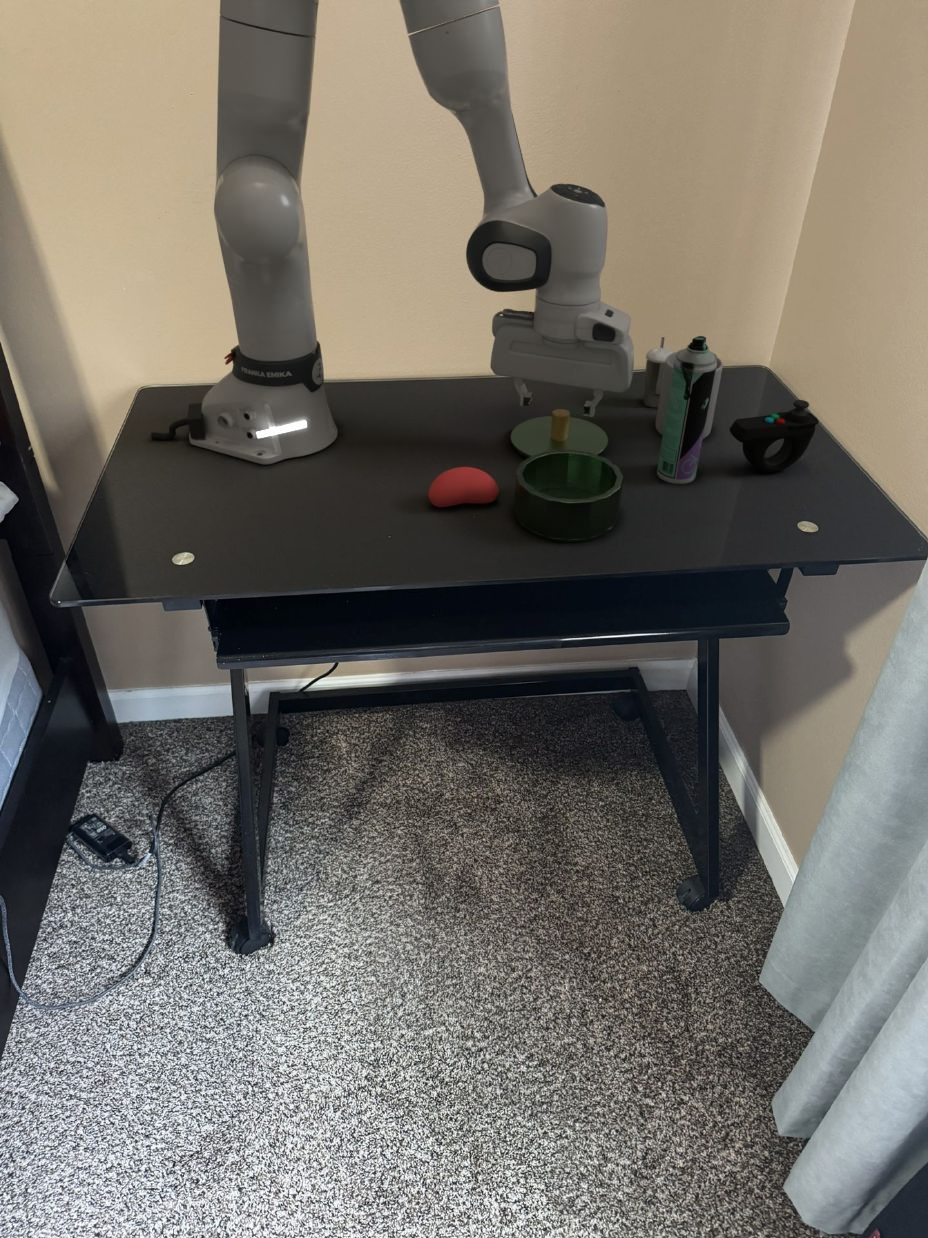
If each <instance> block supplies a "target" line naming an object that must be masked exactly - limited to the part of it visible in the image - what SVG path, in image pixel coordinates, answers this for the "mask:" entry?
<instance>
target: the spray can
mask: <svg viewBox="0 0 928 1238" xmlns="http://www.w3.org/2000/svg"><path fill="white" fill-rule="evenodd" d="M676 352H677V353H676V358H675V360H674V366H673V372H672V379H671V385H670V392H669V398H668V404H667V411H666V417H665V423H664V430H663V435H662V437H661V443H660V449H659V455H658V463H657V468H656V475H657V476H658V478H659V479H661V480H662V481H665V482H667V483H670V484H675V485H685V484H688V483H692V482H693V481H694V480H695V479H696V476H697V472H698V467H699V461H700V455H701V452H702V451H701V450H702V445H703V440H704V439H703V435H704V429H705V424H706V419H707V414H708V408H709V403H710V398H711V392H712V387H713V382H714V377H715V371H716V366H717V362H716V361H717V357H718V356H717V355H716V353H715V352H713V351H711V350H710V347H709V346H708V345H707V338H706V336H704V335H698V336H695V337H693V338H692V339H691V342H690V343H689V344H688V345H686V347H685V348H682V349H680V350H678V351H676Z"/></svg>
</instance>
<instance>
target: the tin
mask: <svg viewBox="0 0 928 1238" xmlns="http://www.w3.org/2000/svg"><path fill="white" fill-rule="evenodd" d="M623 483H624V476H623V474H622V472H621V470H620V467H618V466H617V465H616V464H615V463H613V461H611V460H609V459H608V458H607V457H604V456H601V455H600V456H598V455H595V454H592V453H590V452H583V451H576V450H553V451H547V452H543V453H539V454H536V455H532V456H531V457H529V458H526V459H524V460H523V461H521V462H520V463H519V466H518V468H517V470H516V472H515V487H514V491H515V492H514V515H515V518H516V521H517V523H518V524H519V525H520V527H522V528H523V529H524V530H525V531H527V532H529V533H530V534H532V535H533V536H535V537H539V538H541V539H544V540H547V541H553V542H557V543H584V542H589V541H593V540H597V539H600V538H602V537H603V536H606V535H607V534H609V533H610V532H611V531H612V530H613V529H614V528H615V527H616V524H617V522H618V517H619V514H620V506H621V498H622V492H623V491H622V490H623Z"/></svg>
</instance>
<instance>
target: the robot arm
mask: <svg viewBox="0 0 928 1238" xmlns="http://www.w3.org/2000/svg"><path fill="white" fill-rule="evenodd" d="M319 3H320V0H219V25H218V26H219V27H218V30H219V31H218V60H217V63H218V66H217V67H218V69H217V110H216V111H217V113H216V114H217V115H216V122H217V123H216V161H215V162H216V164H215V165H216V167H215V186H214V187H215V190H214V202H213V215H214V221H215V227H216V231H217V236H218V242H219V247H220V251H221V258H222V261H223V267H224V271H225V276H226V281H227V285H228V290H229V294H230V299H231V300H230V301H231V305H232V306H231V307H232V312H233V318H234V324H235V330H236V335H237V342H238V344H237V345H236V346H233V348H231V350H230V352H229V353H228V354H226V355H225V356H224V360H226V361H225V362H224V364H225V365H226V366H227V365H229V364H230V363H232V369H231V371H230V372H228V373H227V374H226V375H225V376H223V377H222V378H221V379H220V380H219V381H218V382H217V383H215V384H214V385H213V386H212V387H211V388H209V389H210V390H208V391H207V393H206V394H205V396H204V397H203V399H202V402H197V403H189V404H188V411H187V417H186V418H183V419H178V420H176V421H174V422H172V423H171V424H170V425H169V426H168V427H169V428H168V432H166V433H163V432H155V431H151V432H150V438H151V440H161V441H168V440H171V439H173V438H175V437H176V434H177V432H176V431H177V429H178V428H181V427H184V426H188V430H189V434H188V439H189V444H190V445H193V446H195V447H199V448H203V449H207V450H210V451H213V452H217V453H220V454H224V455H228V456H231V457H234V458H238V459H242V460H245V461H249V462H252V463H256V464H259V465H264V466H265V465H271V464H275V463H277V462H280V461H283V460H286V459H292V458H299V457H304V456H307V455H311V454H314V453H317V452H320V451H322V450H324V449H326V448H327V447H329V446H331V445H332V444H333V443H334V442H335V441H336V439H337V437H338V433H339V431H338V428H337V425H336V423H335V421H334V418H333V416H332V413H331V410H330V407H329V402H328V399H327V395H326V391H325V385H324V382H325V373H324V362H323V354H322V348H321V343H320V342H319V340H318V338H317V328H316V318H315V310H314V301H313V291H312V280H311V269H310V268H311V267H310V257H309V248H308V246H309V245H308V235H307V225H306V215H305V209H304V202H303V198H302V197H303V196H302V175H303V166H304V158H305V157H304V156H305V147H306V140H307V131H308V126H309V117H310V113H311V112H310V111H311V101H312V91H313V89H312V88H313V87H312V86H313V77H314V66H315V65H314V64H315V52H316V51H315V50H316V41H317V27H318V26H317V25H318V12H319ZM398 3H399V6H400V9H401V12H402V17H403V21H404V25H405V29H406V34H407V37H408V41H409V45H410V49H411V53H412V56H413V59H414V62H415V65H416V68H417V70H418V73H419V76H420V78H421V80H422V82H423V84H424V87H425V89H426V91H427V94H428V95H429V97H430V98H431V99H432V100H433V101H434V102H435V103H437V104H438V105H439V106H441V107H443V108H444V109H446V110H447V111H448V112H449V113H451V114H452V115H453V116H454V117H455V118H456V119H457V120H458V122H459V123H460V124H461V126H462V128H463V129H464V131H465V134H466V137H467V139H468V141H469V144H470V148H471V153H472V156H473V159H474V163H475V166H476V167H475V168H476V170H477V171H476V172H477V174H478V178H479V182H480V186H481V190H482V194H483V211H482V215H481V216H482V217H481V219H480V221H479V222H478V223H477V225H475V228H474V230H473V231H472V233H471V235H470V237H469V238H468V241H467V244H466V247H465V248H466V249H465V260H466V264H467V268H468V270H469V273H470V275H471V276H472V277H473V279H474V280H475V281H476V282H477V283H478V284H479V285H480V286H482V287H483V288H485V289H486V290H489V291H491V292H497V293H510V292H511V293H512V292H522V291H523V292H524V291H532V290H535V294H534V306H533V307H534V309H533V311H531V310H515V309H512V308H503V310H501V311H497V312H496V313H495V314H494V315H493V317H492V320H491V332H492V335H493V338H494V340H493V345H492V349H491V356H490V364H489V365H490V366H489V367H490V369H491V370H492V373H493V374H494V375H496V376H502V377H507V378H513V386H514V388H515V389H516V391H517V394H518V395H519V398H520V399H519V407H522V408H531V406H532V404H533V395H534V393H533V392H531V391H528V389H527V387H526V384H525V382H526V381H527V380H528V381H534V382H535V381H536V382H540V383H541V382H542V383H548V384H554V385H561V386H569V387H576V388H583V389H589V390H590V389H591V390H593V392H592V396H593V397H594V398H593V399H592V400H585V401H584V402H585V403H584V404H583V412H582V416H583V417H588V418H594V416H595V412H596V407H597V405H598V404H599V402H601V400H602V399H603V398H604V395H605V393H606V392H610V393H616V394H624V393H625V392H626V391H628V390H629V388H630V387H631V384H632V381H633V378H634V377H633V376H634V364H635V350H634V349H635V348H634V346H635V345H634V342H633V339H632V337H631V336H630V335H629V333H630V330H631V324H632V317H631V315H630V314H629V313H627V312H624V311H623V310H620V309H618V308H617V307H615V306H612V305H610V304H608V303H606V302H604V301H602V300H601V298H602V289H601V276H602V272H603V270H604V267H605V263H606V257H607V248H608V247H607V246H608V232H609V231H608V228H609V223H608V222H609V220H608V219H609V218H608V210H607V206H606V203H605V202H604V200H603V198H602V197H601V196H600V195H599V194H598V193H596V192H594V191H593V190H592V189H589V188H587V187H584V186H581V185H577V184H572V183H557V184H552V185H551V186H550V187H548V188H547V189H546V190H545V191H543V192H542V193H540V194H539V195H538V194H537V193H536V191H535V190H534V188H533V186H532V184H531V182H530V179H529V177H528V173H527V170H526V165H525V161H524V157H523V153H522V148H521V144H520V141H519V137H518V133H517V127H516V124H515V118H514V114H513V109H512V102H511V92H510V91H511V90H510V80H509V79H510V78H509V66H508V65H509V63H508V53H507V44H506V36H505V27H504V22H503V16H502V10H501V7H500V2H499V0H398Z"/></svg>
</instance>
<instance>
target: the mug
mask: <svg viewBox="0 0 928 1238" xmlns="http://www.w3.org/2000/svg"><path fill="white" fill-rule="evenodd" d="M677 352H678V351H675V352H674V353H672V354H670V355H668V356H667V358H666V360H665V365H664V372H663V378H662V385H661V392H660V398H659V405H658V407H657V412H656V417H655V430H656V431H657V432H658V434H660V435H662V436H663V430H664V423H665V417H666V411H667V404H668V398H669V392H670V385H671V379H672V372H673V366H674V360H675V358H676V353H677ZM716 362H717V366H716V371H715V377H714V382H713V387H712V392H711V398H710V403H709V408H708V414H707V419H706V424H705V429H704V435H703V440H704V439H706V438H707V437H708V436H709V435H710V434H711V431H712V427H713V421H714V417H715V410H716V404H717V401H718V399H717V398H718V394H719V389H720V384H721V379H722V373H723V367H724V363H723V361H722V360H721V358H719V357H718V356H717V361H716Z"/></svg>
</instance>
